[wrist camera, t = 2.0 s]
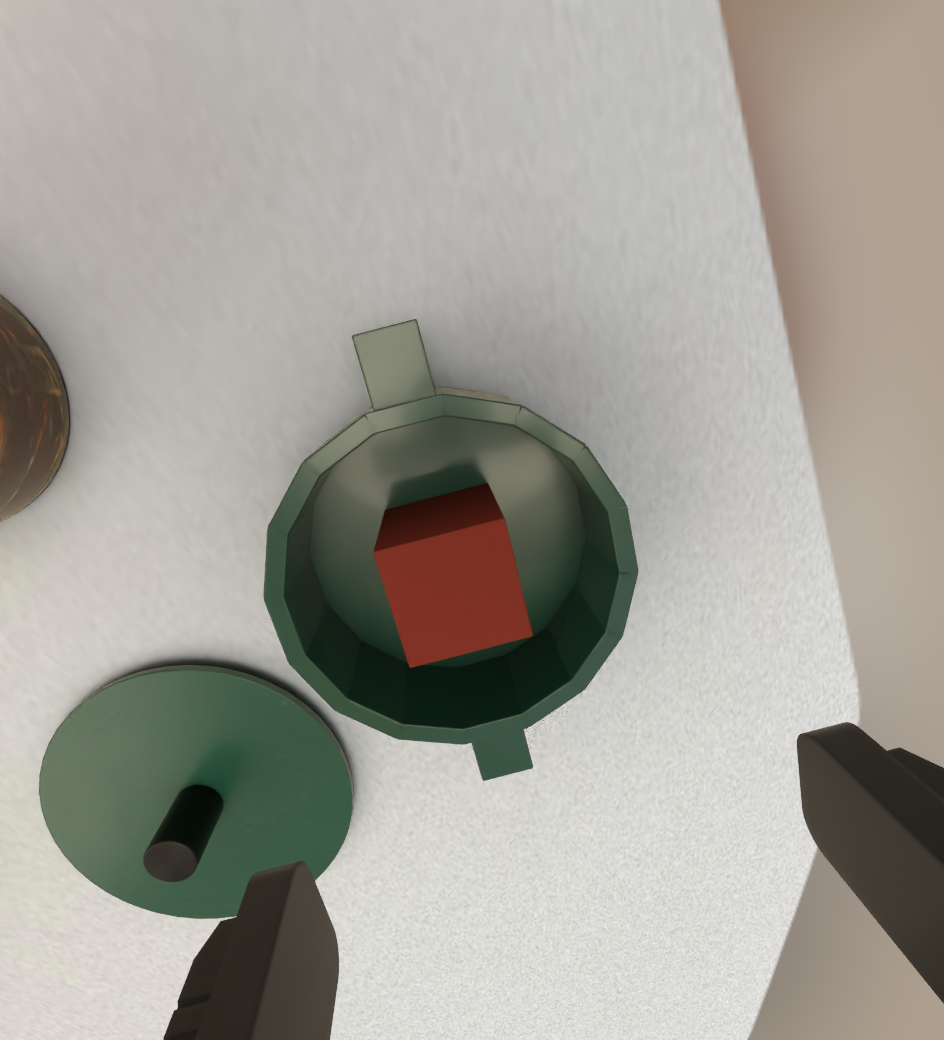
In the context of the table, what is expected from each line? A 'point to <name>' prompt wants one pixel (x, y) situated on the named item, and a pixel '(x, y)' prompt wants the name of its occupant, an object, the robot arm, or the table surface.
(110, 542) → the table surface
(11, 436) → the jar
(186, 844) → the pot lid
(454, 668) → the pot
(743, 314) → the table surface
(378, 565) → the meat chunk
